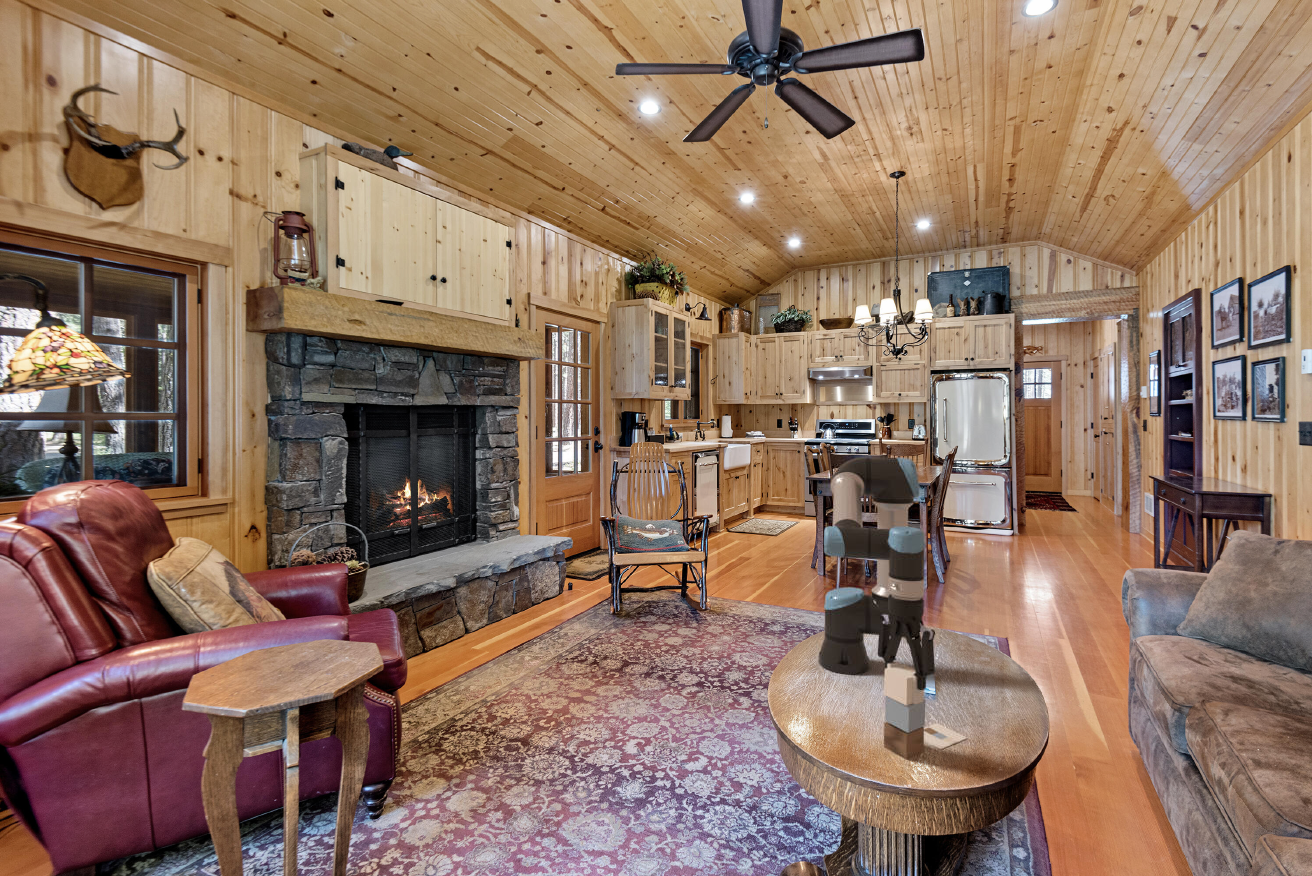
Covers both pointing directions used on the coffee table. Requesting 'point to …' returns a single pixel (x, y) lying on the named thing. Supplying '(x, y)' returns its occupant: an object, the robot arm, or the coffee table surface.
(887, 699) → the slate brick
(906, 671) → the cream brick
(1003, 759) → the coffee table surface
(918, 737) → the walnut base brick
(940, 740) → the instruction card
